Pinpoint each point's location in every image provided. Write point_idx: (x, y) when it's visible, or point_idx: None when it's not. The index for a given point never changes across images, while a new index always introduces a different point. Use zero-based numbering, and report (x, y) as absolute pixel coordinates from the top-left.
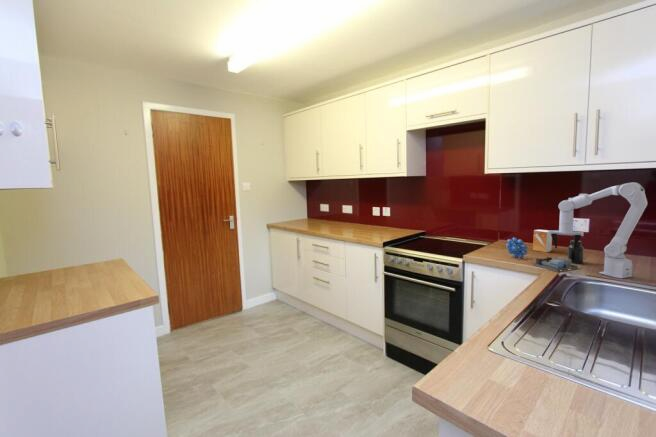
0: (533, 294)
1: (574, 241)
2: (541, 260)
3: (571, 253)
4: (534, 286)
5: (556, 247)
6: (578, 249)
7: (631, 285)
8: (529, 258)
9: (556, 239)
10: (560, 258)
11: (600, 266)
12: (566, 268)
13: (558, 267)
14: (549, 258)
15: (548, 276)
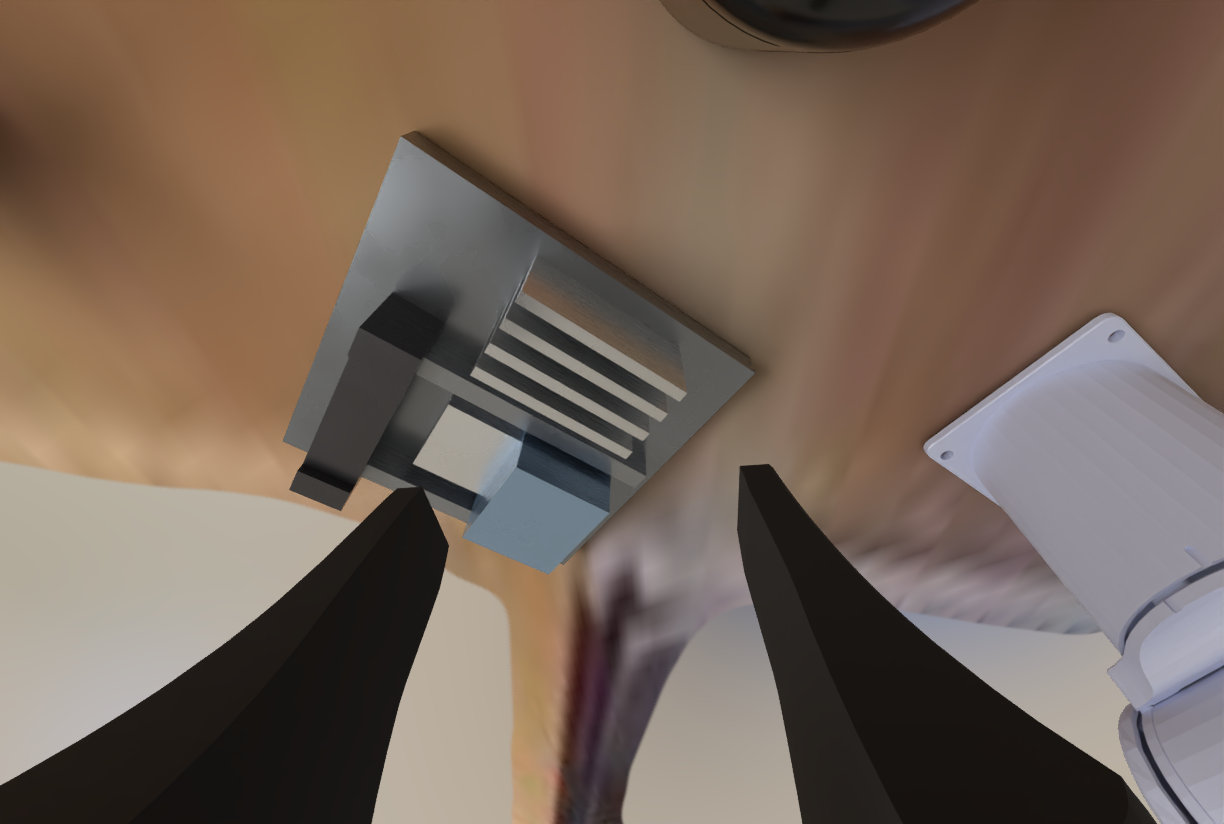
0: (541, 812)
1: (791, 744)
2: (360, 477)
3: (707, 24)
4: (519, 767)
5: (436, 565)
6: (917, 28)
7: (1024, 623)
8: (8, 32)
9: (365, 804)
10: (542, 382)
11: (1127, 33)
12: (635, 489)
13: None
14: (403, 380)
15: (537, 648)
